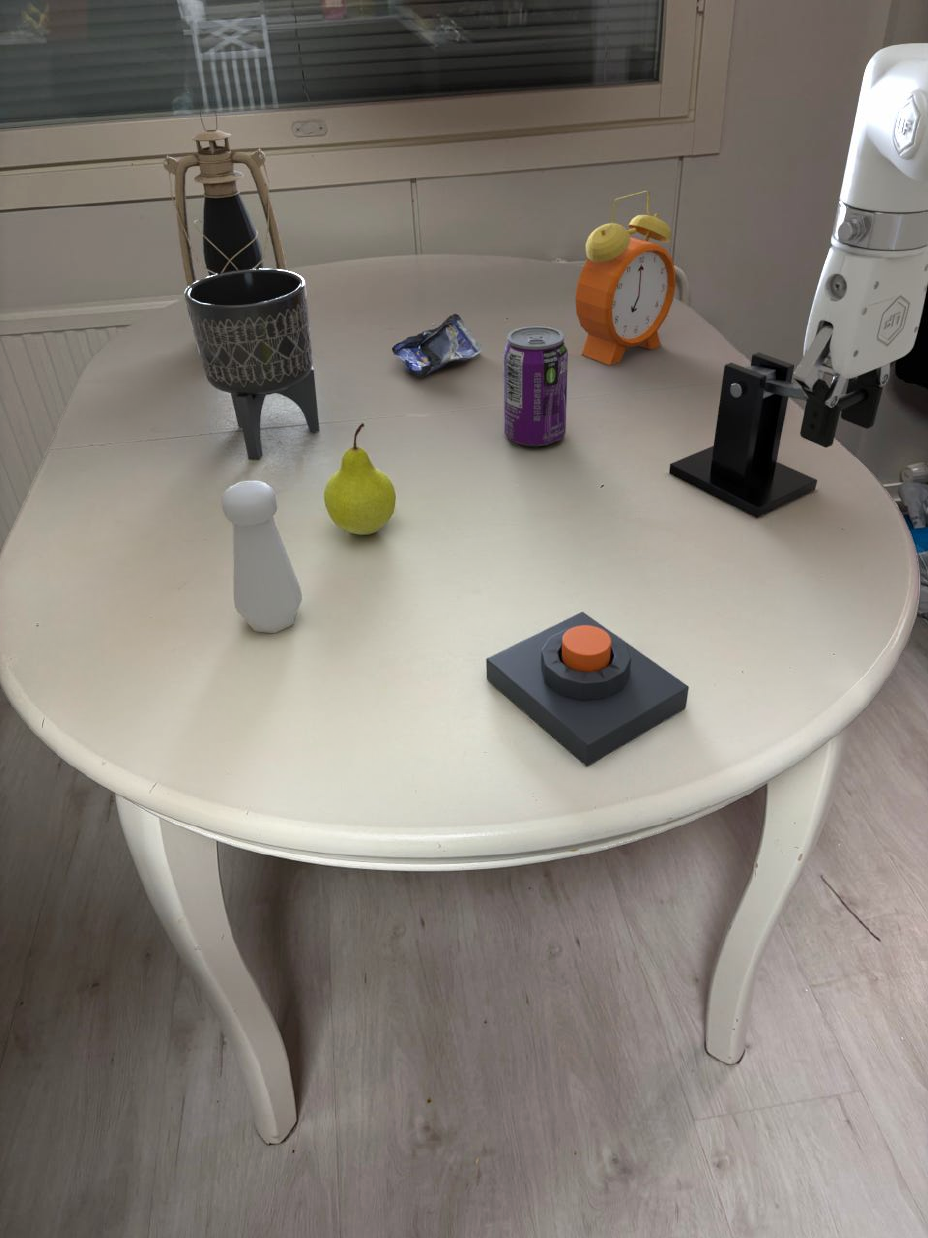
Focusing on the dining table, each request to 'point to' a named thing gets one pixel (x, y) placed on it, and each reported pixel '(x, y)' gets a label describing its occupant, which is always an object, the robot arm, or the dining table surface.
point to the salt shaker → (260, 559)
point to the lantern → (223, 208)
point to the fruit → (359, 493)
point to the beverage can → (535, 385)
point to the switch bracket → (747, 445)
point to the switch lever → (797, 392)
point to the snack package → (437, 347)
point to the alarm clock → (625, 287)
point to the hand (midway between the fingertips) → (836, 430)
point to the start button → (586, 648)
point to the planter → (255, 342)
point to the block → (586, 691)
